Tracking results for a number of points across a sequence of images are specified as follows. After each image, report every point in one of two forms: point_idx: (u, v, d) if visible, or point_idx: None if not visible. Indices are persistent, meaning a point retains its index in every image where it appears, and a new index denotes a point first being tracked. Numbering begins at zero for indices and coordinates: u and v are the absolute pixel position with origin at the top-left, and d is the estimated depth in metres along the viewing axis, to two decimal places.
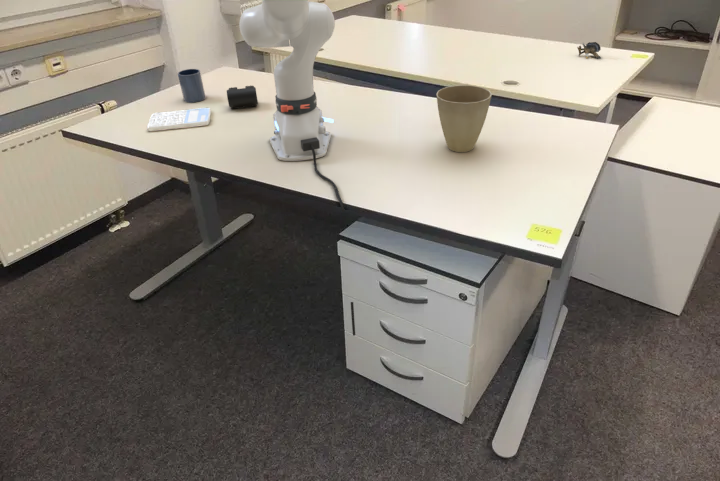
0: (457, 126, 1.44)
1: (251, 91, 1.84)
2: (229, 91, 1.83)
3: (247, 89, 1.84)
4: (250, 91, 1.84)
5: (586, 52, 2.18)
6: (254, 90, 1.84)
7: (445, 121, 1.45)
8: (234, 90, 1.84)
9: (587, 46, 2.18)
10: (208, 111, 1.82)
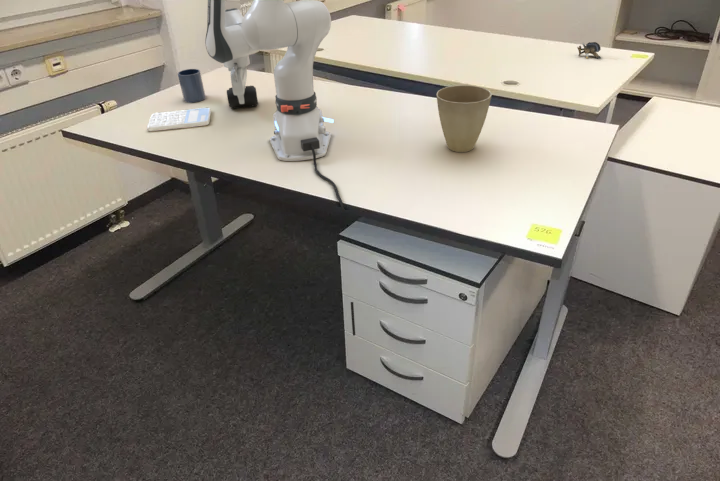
0: (457, 126, 1.44)
1: (251, 91, 1.84)
2: (229, 91, 1.83)
3: (247, 89, 1.84)
4: (250, 91, 1.84)
5: (586, 52, 2.18)
6: (254, 90, 1.84)
7: (445, 121, 1.45)
8: None
9: (587, 46, 2.18)
10: (208, 111, 1.82)
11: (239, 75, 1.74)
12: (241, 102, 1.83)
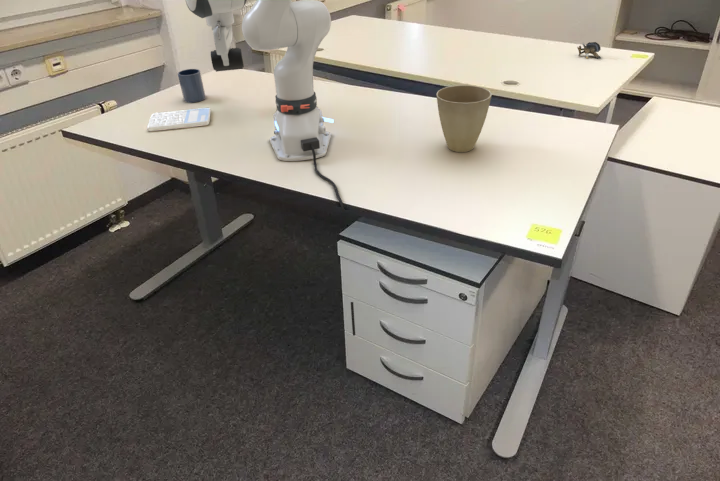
0: (457, 126, 1.44)
1: (236, 52, 1.75)
2: (213, 52, 1.75)
3: (232, 50, 1.76)
4: (235, 52, 1.75)
5: (586, 52, 2.18)
6: (239, 51, 1.76)
7: (445, 121, 1.45)
8: None
9: (587, 46, 2.18)
10: (208, 111, 1.82)
11: (222, 32, 1.65)
12: (225, 64, 1.74)
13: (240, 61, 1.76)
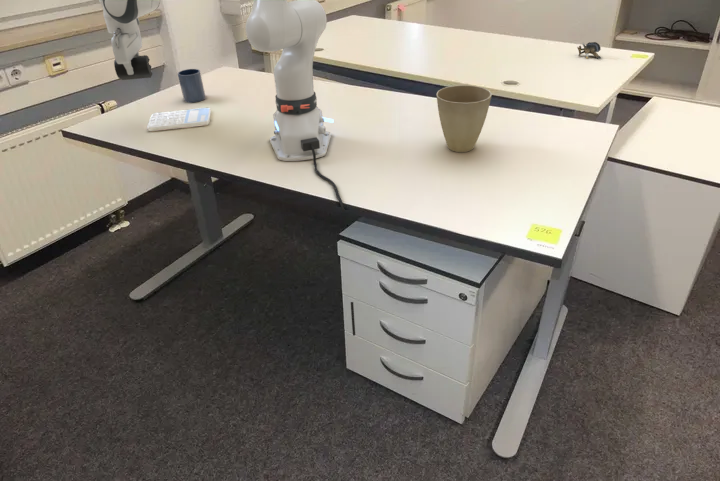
0: (457, 126, 1.44)
1: (141, 61, 1.67)
2: None
3: (137, 58, 1.67)
4: (140, 61, 1.67)
5: (586, 52, 2.18)
6: (145, 60, 1.67)
7: (445, 121, 1.45)
8: None
9: (587, 46, 2.18)
10: (208, 111, 1.82)
11: (120, 41, 1.57)
12: (129, 72, 1.66)
13: (146, 70, 1.68)
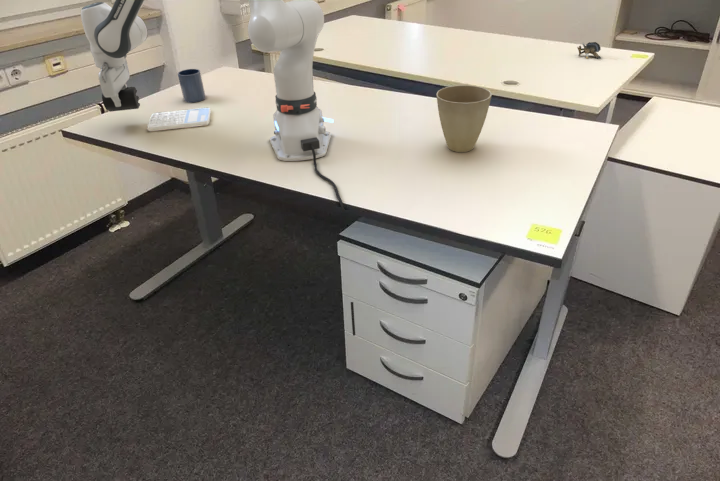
0: (457, 126, 1.44)
1: (129, 93, 1.70)
2: None
3: (124, 91, 1.70)
4: (127, 93, 1.70)
5: (586, 52, 2.18)
6: (132, 92, 1.70)
7: (445, 121, 1.45)
8: None
9: (587, 46, 2.18)
10: (208, 111, 1.82)
11: (107, 75, 1.60)
12: (117, 105, 1.69)
13: (133, 101, 1.71)
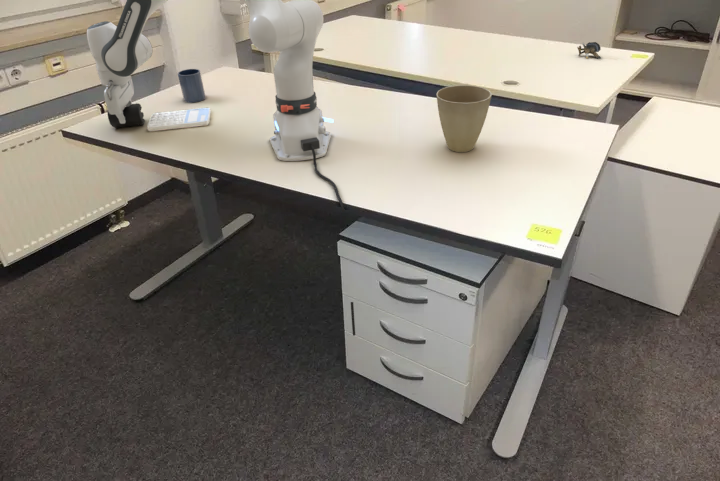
0: (457, 126, 1.44)
1: (134, 110, 1.73)
2: None
3: (130, 108, 1.74)
4: (133, 110, 1.73)
5: (586, 52, 2.18)
6: (137, 109, 1.74)
7: (445, 121, 1.45)
8: None
9: (587, 46, 2.18)
10: (208, 111, 1.82)
11: (112, 93, 1.63)
12: (122, 121, 1.72)
13: (138, 118, 1.74)
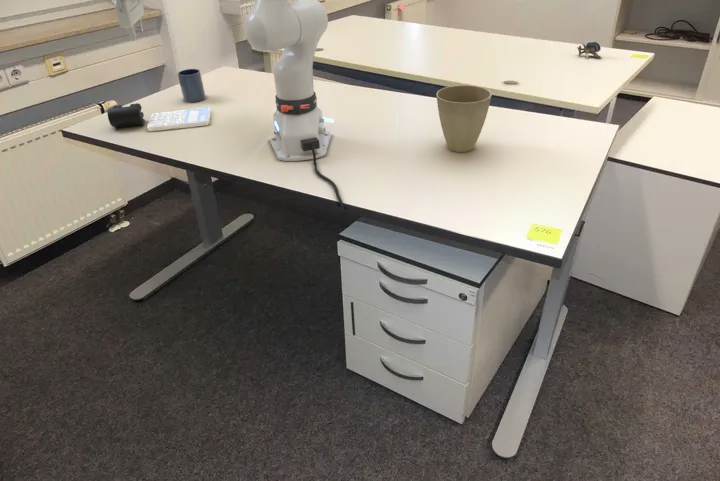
0: (457, 126, 1.44)
1: (134, 110, 1.73)
2: (110, 110, 1.73)
3: (130, 108, 1.74)
4: (133, 110, 1.73)
5: (586, 52, 2.18)
6: (137, 109, 1.74)
7: (445, 121, 1.45)
8: (115, 109, 1.73)
9: (587, 46, 2.18)
10: (208, 111, 1.82)
11: (123, 3, 1.56)
12: (132, 38, 1.65)
13: (138, 118, 1.74)
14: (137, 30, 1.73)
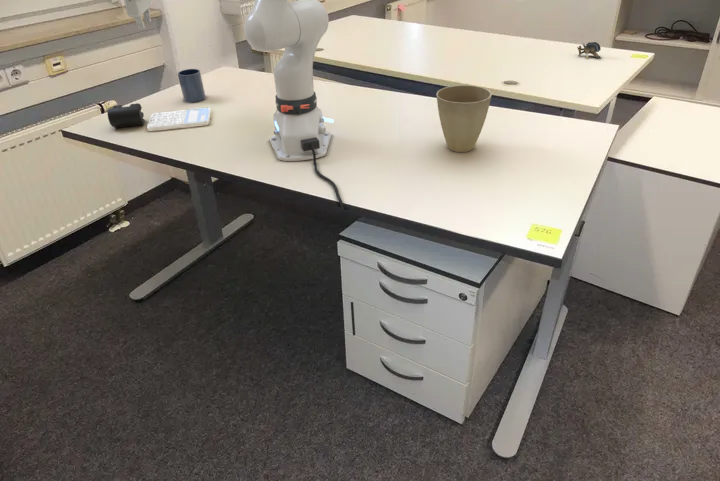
0: (457, 126, 1.44)
1: (134, 110, 1.73)
2: (110, 110, 1.73)
3: (130, 108, 1.74)
4: (133, 110, 1.73)
5: (586, 52, 2.18)
6: (137, 109, 1.74)
7: (445, 121, 1.45)
8: (115, 109, 1.73)
9: (587, 46, 2.18)
10: (208, 111, 1.82)
11: None
12: (140, 28, 1.66)
13: (138, 118, 1.74)
14: (145, 20, 1.74)
